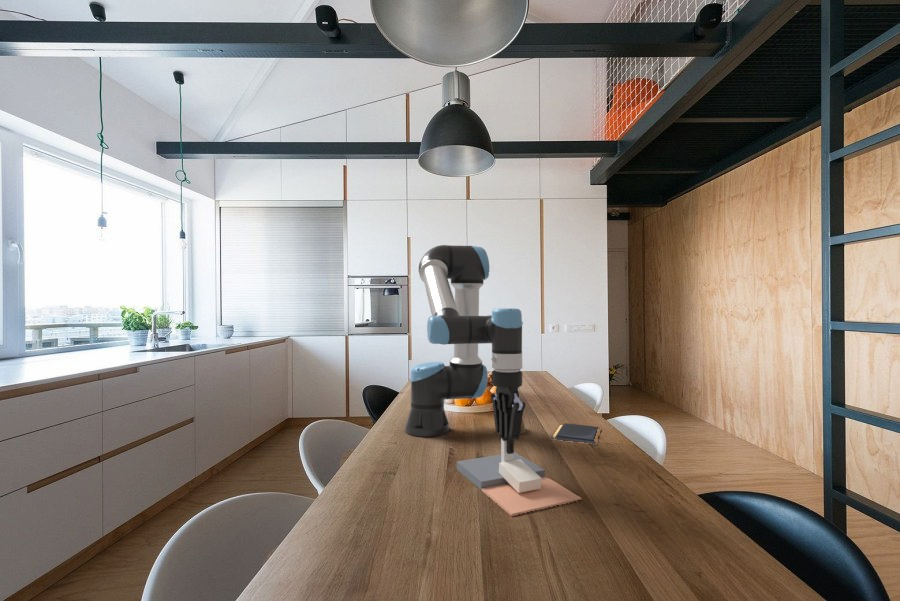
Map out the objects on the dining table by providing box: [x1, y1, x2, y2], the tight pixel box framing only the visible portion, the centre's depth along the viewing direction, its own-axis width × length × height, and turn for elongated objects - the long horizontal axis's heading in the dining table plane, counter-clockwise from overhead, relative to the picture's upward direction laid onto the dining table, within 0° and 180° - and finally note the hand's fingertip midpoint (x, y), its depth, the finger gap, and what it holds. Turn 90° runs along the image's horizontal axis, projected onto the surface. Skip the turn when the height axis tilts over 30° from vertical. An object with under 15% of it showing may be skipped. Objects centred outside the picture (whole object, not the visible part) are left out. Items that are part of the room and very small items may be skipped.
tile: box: [499, 459, 542, 493], centre depth 97 cm, size 9×6×2 cm, turn 23°
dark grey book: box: [550, 422, 599, 444], centre depth 140 cm, size 20×2×15 cm
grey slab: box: [456, 451, 546, 491], centre depth 106 cm, size 14×18×2 cm
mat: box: [481, 475, 582, 517], centre depth 93 cm, size 13×18×1 cm
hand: (507, 465), depth 102 cm, fingers closed
